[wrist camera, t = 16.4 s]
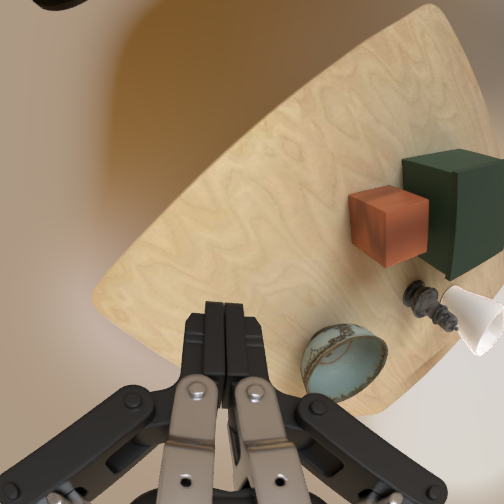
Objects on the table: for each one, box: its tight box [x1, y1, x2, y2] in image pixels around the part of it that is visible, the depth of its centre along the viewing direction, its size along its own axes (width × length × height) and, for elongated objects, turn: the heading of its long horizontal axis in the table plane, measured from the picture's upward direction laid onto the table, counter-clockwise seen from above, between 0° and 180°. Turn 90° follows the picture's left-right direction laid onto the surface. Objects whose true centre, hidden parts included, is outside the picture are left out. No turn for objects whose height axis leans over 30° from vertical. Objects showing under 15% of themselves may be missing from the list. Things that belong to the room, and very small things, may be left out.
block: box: [349, 185, 429, 268], centre depth 36 cm, size 7×7×8 cm
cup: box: [440, 285, 504, 357], centre depth 46 cm, size 10×10×14 cm
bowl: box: [301, 324, 388, 403], centre depth 43 cm, size 14×13×8 cm
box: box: [402, 149, 504, 281], centre depth 37 cm, size 15×15×11 cm
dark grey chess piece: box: [403, 280, 458, 332], centre depth 43 cm, size 6×6×12 cm
